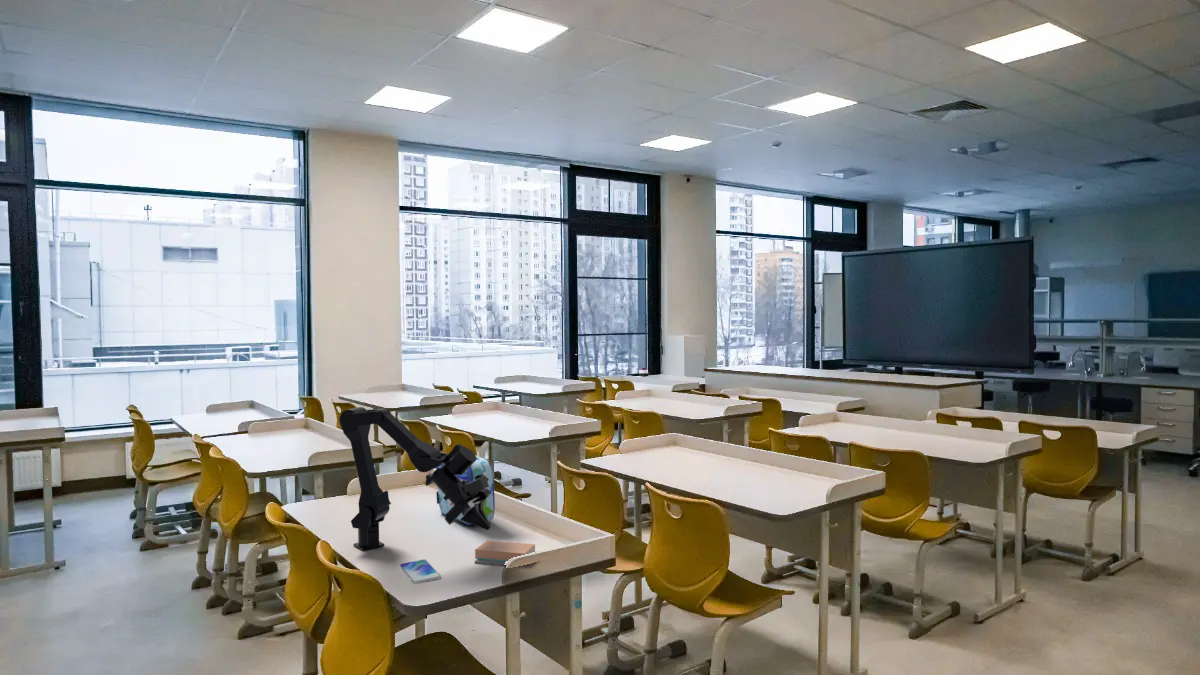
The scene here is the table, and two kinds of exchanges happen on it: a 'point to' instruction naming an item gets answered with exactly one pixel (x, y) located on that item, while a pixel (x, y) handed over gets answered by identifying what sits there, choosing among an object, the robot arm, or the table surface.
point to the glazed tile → (502, 550)
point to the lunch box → (469, 476)
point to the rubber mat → (490, 562)
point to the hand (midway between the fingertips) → (489, 528)
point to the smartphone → (420, 571)
